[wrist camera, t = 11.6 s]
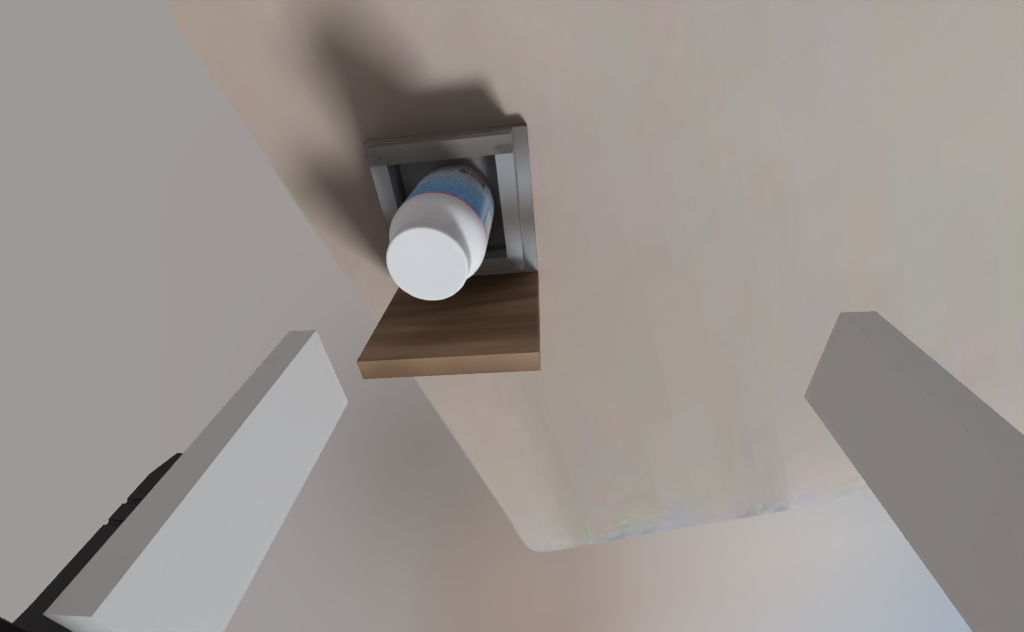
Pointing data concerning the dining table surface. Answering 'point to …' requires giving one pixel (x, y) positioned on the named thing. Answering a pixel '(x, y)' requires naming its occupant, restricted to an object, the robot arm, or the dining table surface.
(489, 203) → the pill bottle
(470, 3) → the dining table surface
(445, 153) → the cup bracket
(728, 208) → the dining table surface
